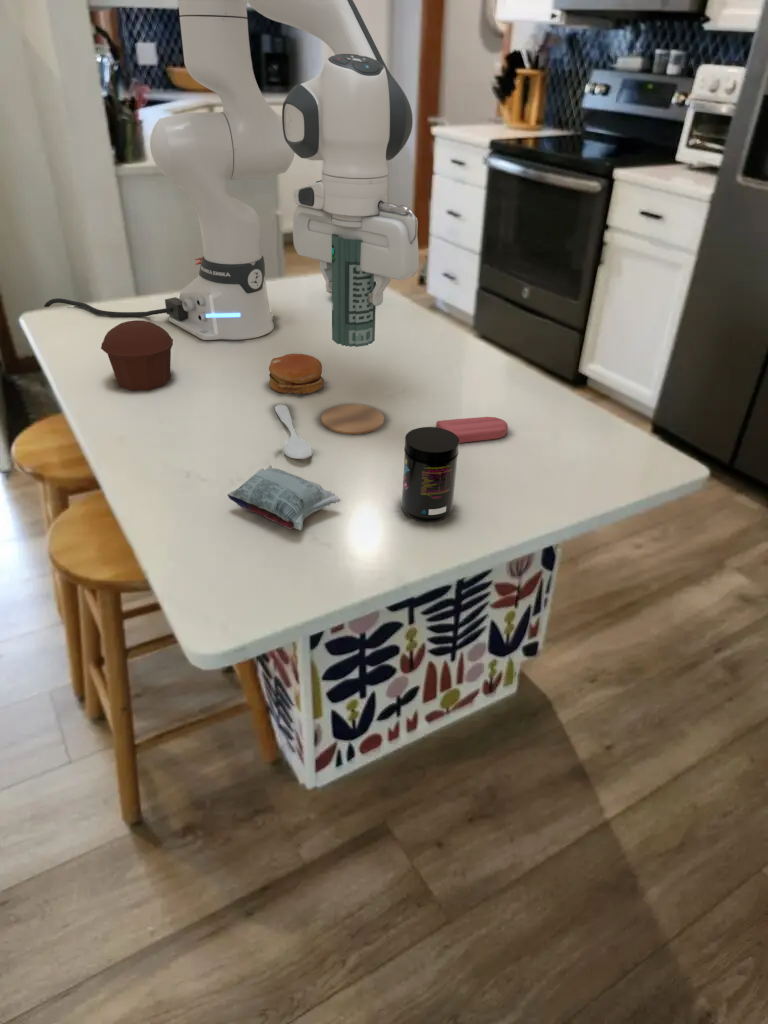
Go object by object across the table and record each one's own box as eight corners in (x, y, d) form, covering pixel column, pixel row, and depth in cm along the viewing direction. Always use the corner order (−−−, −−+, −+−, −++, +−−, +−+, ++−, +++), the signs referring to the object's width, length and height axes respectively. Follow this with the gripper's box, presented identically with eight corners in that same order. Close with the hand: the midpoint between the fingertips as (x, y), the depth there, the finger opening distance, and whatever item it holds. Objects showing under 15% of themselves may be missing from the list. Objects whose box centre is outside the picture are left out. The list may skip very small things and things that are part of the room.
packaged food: (272, 482, 102) (270, 451, 99) (341, 512, 96) (341, 479, 93) (226, 510, 96) (223, 478, 93) (297, 544, 90) (295, 510, 87)
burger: (329, 393, 127) (329, 367, 124) (276, 399, 124) (274, 373, 121) (315, 371, 134) (314, 346, 132) (264, 376, 132) (262, 351, 129)
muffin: (170, 363, 135) (163, 309, 129) (185, 387, 127) (178, 330, 121) (102, 373, 130) (91, 317, 125) (113, 398, 122) (102, 339, 117)
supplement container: (435, 491, 101) (441, 422, 95) (462, 516, 96) (470, 445, 90) (391, 503, 98) (395, 432, 93) (417, 529, 93) (422, 456, 88)
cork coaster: (308, 421, 118) (308, 418, 117) (348, 401, 124) (348, 398, 124) (357, 440, 113) (357, 438, 112) (396, 418, 119) (396, 416, 119)
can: (362, 330, 115) (364, 228, 106) (380, 343, 110) (384, 238, 102) (326, 335, 112) (325, 231, 104) (343, 348, 108) (343, 241, 99)
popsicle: (410, 422, 115) (500, 414, 118) (409, 431, 116) (498, 423, 119) (420, 438, 111) (513, 429, 114) (419, 447, 111) (512, 438, 115)
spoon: (288, 468, 105) (287, 458, 104) (267, 406, 121) (266, 397, 121) (317, 465, 106) (317, 455, 105) (292, 404, 122) (292, 395, 122)
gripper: (431, 204, 97) (425, 308, 105) (314, 183, 107) (316, 279, 115) (403, 212, 93) (398, 319, 101) (284, 188, 103) (288, 288, 111)
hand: (353, 298), depth 108 cm, fingers closed on can, 6 cm apart
